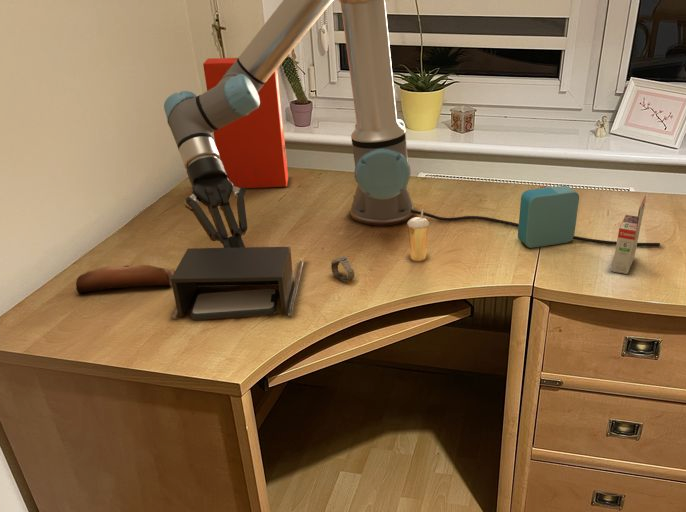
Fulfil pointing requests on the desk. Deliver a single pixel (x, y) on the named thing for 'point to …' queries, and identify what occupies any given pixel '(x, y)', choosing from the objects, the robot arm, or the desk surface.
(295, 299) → the rails
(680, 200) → the desk surface
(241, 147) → the tall red block
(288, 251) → the cover
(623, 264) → the ink box
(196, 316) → the phone case
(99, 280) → the sunglasses case
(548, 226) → the data package
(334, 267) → the wristwatch
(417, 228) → the milkshake
